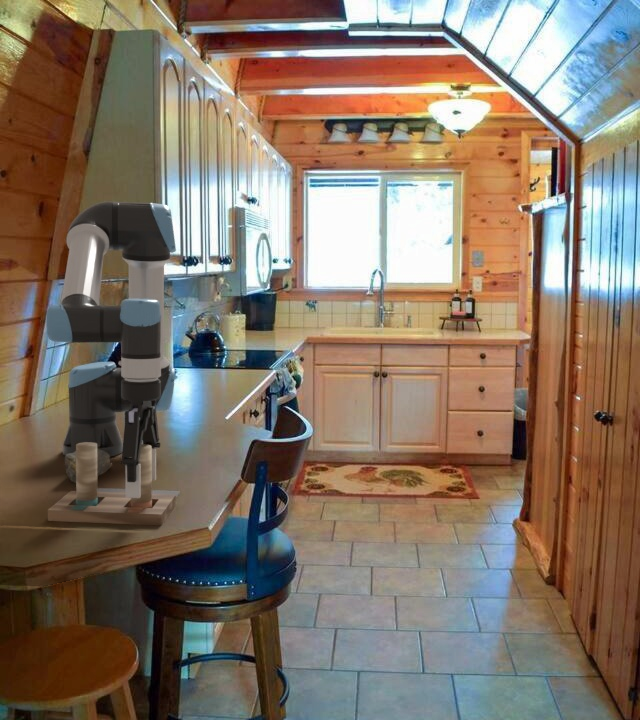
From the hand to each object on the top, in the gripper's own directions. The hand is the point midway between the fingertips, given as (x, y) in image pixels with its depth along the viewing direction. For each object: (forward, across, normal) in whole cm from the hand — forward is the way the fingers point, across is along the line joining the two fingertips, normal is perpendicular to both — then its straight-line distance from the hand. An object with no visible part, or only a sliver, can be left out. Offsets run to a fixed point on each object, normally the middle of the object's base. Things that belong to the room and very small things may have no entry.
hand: (141, 488), depth 147 cm
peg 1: (+6, 0, -11) cm, 12 cm away
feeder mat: (+6, -11, -6) cm, 14 cm away
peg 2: (+6, 0, 0) cm, 6 cm away
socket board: (+6, 0, -6) cm, 8 cm away
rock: (+6, -24, -19) cm, 32 cm away
